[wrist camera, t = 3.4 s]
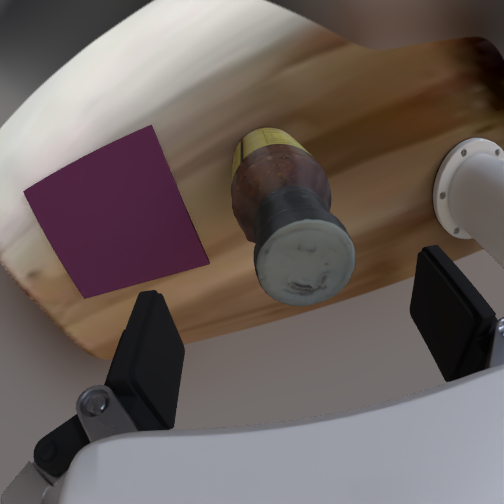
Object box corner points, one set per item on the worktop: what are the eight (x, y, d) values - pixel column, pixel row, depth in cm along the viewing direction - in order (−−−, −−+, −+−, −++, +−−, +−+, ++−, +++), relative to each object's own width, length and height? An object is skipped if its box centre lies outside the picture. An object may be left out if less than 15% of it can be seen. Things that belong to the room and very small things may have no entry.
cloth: (151, 124, 28) (150, 125, 27) (209, 262, 35) (209, 264, 35) (24, 190, 30) (23, 191, 30) (85, 297, 38) (84, 298, 38)
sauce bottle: (267, 199, 32) (292, 355, 15) (219, 158, 30) (183, 284, 12) (315, 153, 29) (405, 269, 12) (267, 108, 27) (306, 162, 10)
